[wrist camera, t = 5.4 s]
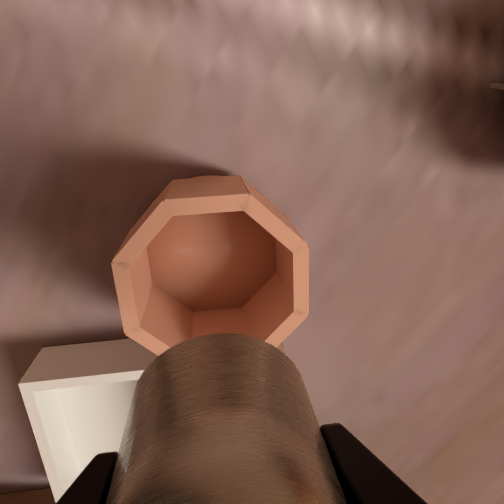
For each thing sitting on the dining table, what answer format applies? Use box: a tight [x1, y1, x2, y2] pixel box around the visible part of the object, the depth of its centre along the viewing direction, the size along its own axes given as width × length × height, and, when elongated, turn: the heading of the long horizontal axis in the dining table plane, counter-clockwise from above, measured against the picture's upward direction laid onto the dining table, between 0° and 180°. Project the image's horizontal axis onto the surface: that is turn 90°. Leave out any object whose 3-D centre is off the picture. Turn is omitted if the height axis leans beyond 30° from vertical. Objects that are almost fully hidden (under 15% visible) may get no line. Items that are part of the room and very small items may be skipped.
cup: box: [111, 175, 309, 356], centre depth 17 cm, size 7×7×5 cm
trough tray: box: [18, 338, 286, 503], centre depth 21 cm, size 9×12×3 cm
